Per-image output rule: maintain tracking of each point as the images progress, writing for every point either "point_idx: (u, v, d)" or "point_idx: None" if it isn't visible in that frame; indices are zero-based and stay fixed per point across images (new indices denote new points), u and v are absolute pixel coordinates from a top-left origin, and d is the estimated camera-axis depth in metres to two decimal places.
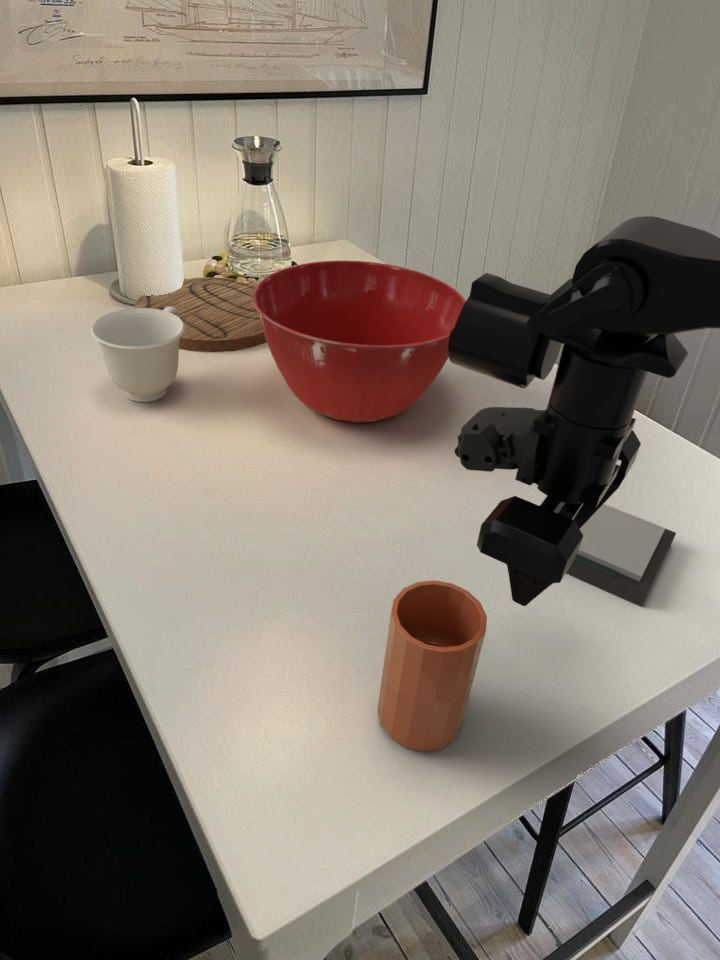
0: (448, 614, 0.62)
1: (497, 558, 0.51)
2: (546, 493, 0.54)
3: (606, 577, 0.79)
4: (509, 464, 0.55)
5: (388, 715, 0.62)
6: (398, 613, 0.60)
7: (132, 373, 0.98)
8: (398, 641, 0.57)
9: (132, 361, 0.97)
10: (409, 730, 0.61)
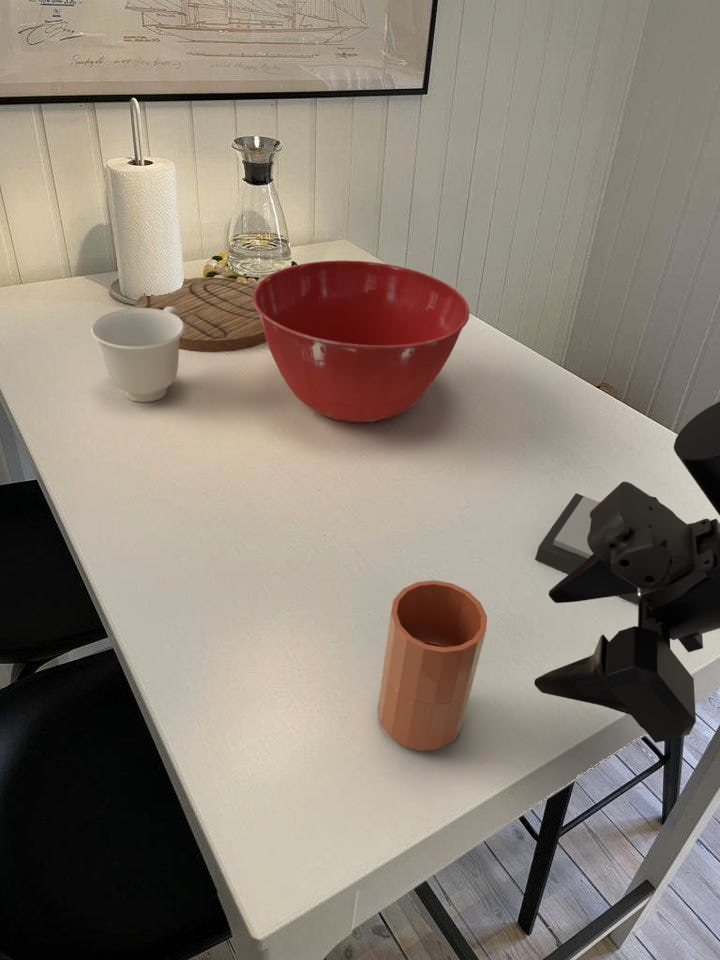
0: (448, 614, 0.62)
1: (623, 701, 0.44)
2: (658, 620, 0.48)
3: None
4: None
5: (388, 715, 0.62)
6: (398, 613, 0.60)
7: (132, 373, 0.98)
8: (398, 641, 0.57)
9: (132, 361, 0.97)
10: (409, 730, 0.61)
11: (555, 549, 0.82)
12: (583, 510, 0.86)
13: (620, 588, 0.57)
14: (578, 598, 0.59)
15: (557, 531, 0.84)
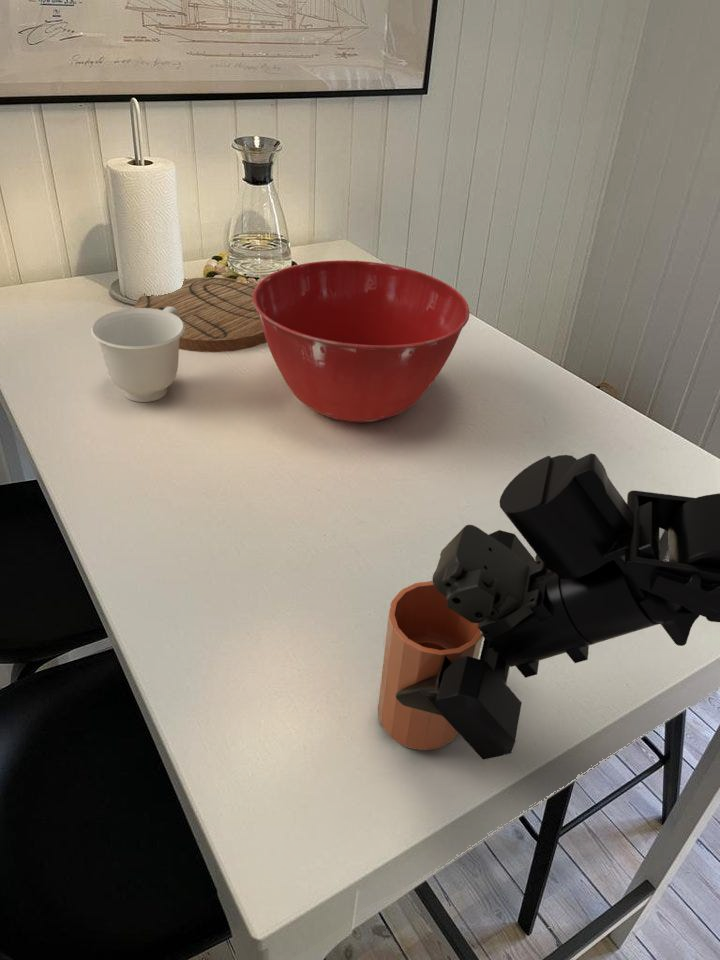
0: (448, 614, 0.62)
1: (452, 723, 0.50)
2: (495, 650, 0.54)
3: None
4: None
5: (388, 715, 0.62)
6: (396, 614, 0.59)
7: (132, 373, 0.98)
8: (396, 643, 0.57)
9: (132, 361, 0.97)
10: (408, 730, 0.61)
11: None
12: None
13: None
14: None
15: None
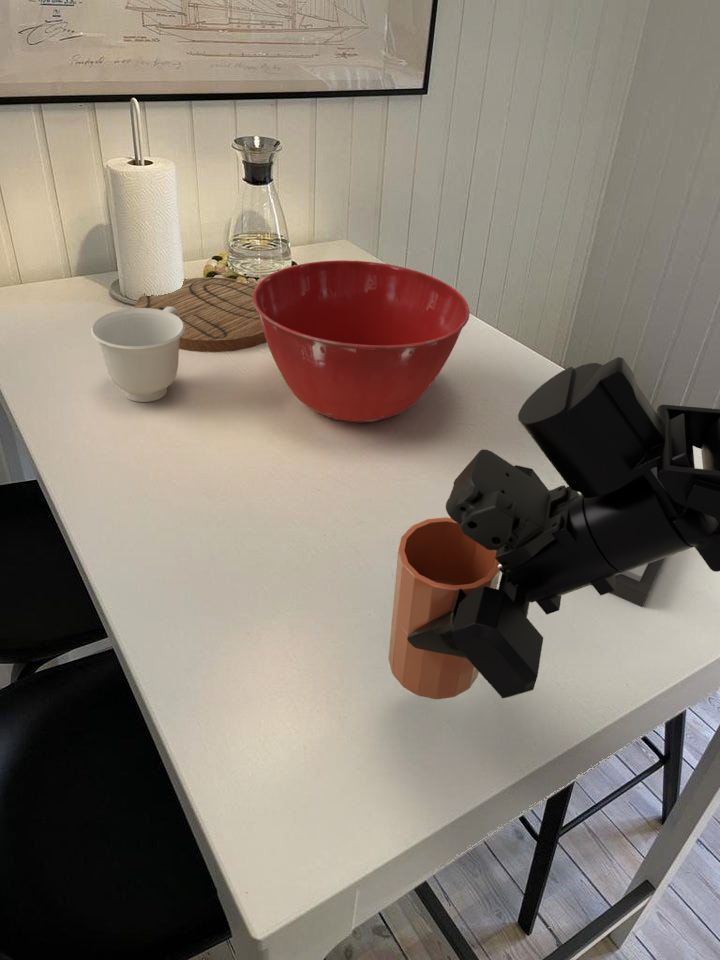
0: (462, 554, 0.58)
1: (468, 657, 0.46)
2: (514, 583, 0.50)
3: None
4: None
5: (398, 661, 0.58)
6: (407, 552, 0.56)
7: (132, 373, 0.98)
8: (406, 580, 0.53)
9: (132, 361, 0.97)
10: (420, 677, 0.57)
11: None
12: None
13: None
14: None
15: None
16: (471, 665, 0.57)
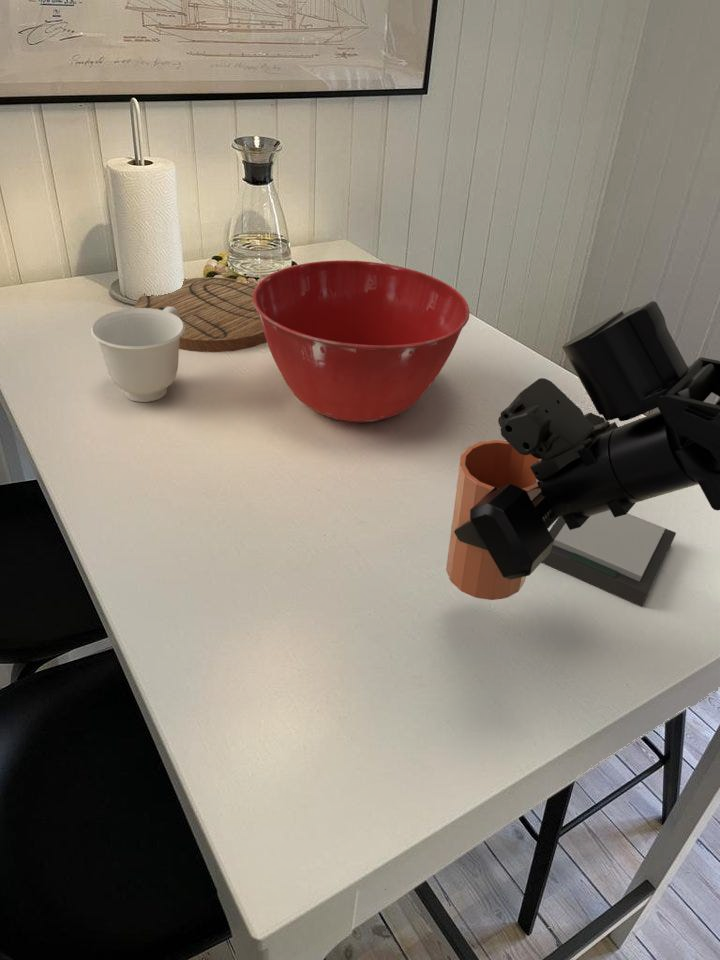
0: (523, 478, 0.66)
1: (479, 533, 0.55)
2: (544, 494, 0.58)
3: (606, 577, 0.79)
4: (534, 452, 0.58)
5: (450, 557, 0.68)
6: (472, 462, 0.66)
7: (132, 373, 0.98)
8: (460, 479, 0.63)
9: (132, 361, 0.97)
10: (463, 572, 0.67)
11: (555, 549, 0.82)
12: None
13: None
14: None
15: (557, 531, 0.84)
16: None
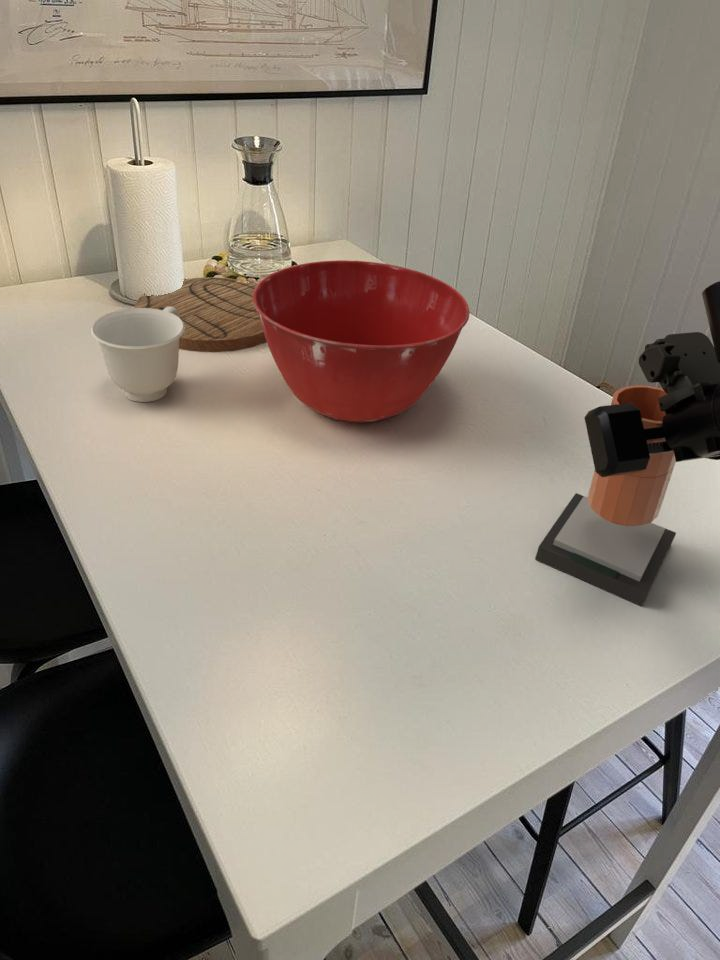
0: None
1: (588, 431, 0.68)
2: (663, 424, 0.68)
3: (606, 577, 0.79)
4: (665, 386, 0.68)
5: None
6: (633, 401, 0.77)
7: (132, 373, 0.98)
8: None
9: (132, 361, 0.97)
10: (595, 490, 0.78)
11: (555, 549, 0.82)
12: (583, 510, 0.86)
13: None
14: None
15: (557, 531, 0.84)
16: (630, 500, 0.76)
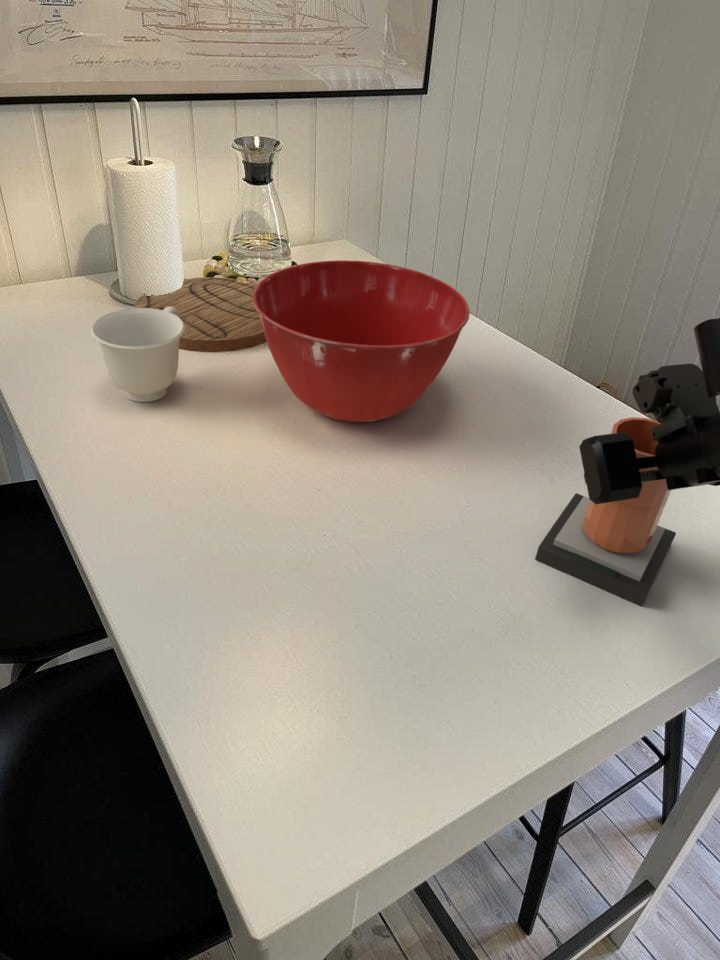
0: None
1: (582, 459, 0.70)
2: (655, 453, 0.70)
3: (606, 577, 0.79)
4: None
5: None
6: (631, 432, 0.79)
7: (132, 373, 0.98)
8: None
9: (132, 361, 0.97)
10: (590, 516, 0.81)
11: (555, 549, 0.82)
12: (583, 510, 0.86)
13: None
14: None
15: (557, 531, 0.84)
16: (624, 529, 0.78)
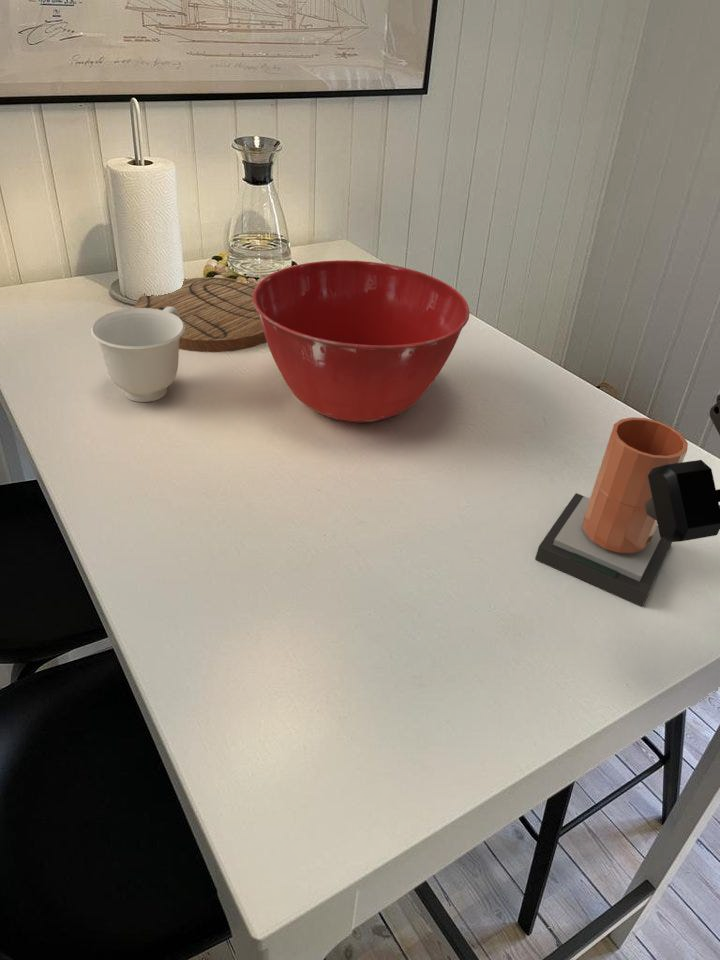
0: None
1: (651, 490, 0.61)
2: None
3: (606, 577, 0.79)
4: None
5: None
6: (631, 432, 0.79)
7: (132, 373, 0.98)
8: None
9: (132, 361, 0.97)
10: (590, 516, 0.81)
11: (555, 549, 0.82)
12: (583, 510, 0.86)
13: None
14: None
15: (557, 531, 0.84)
16: (624, 529, 0.78)
